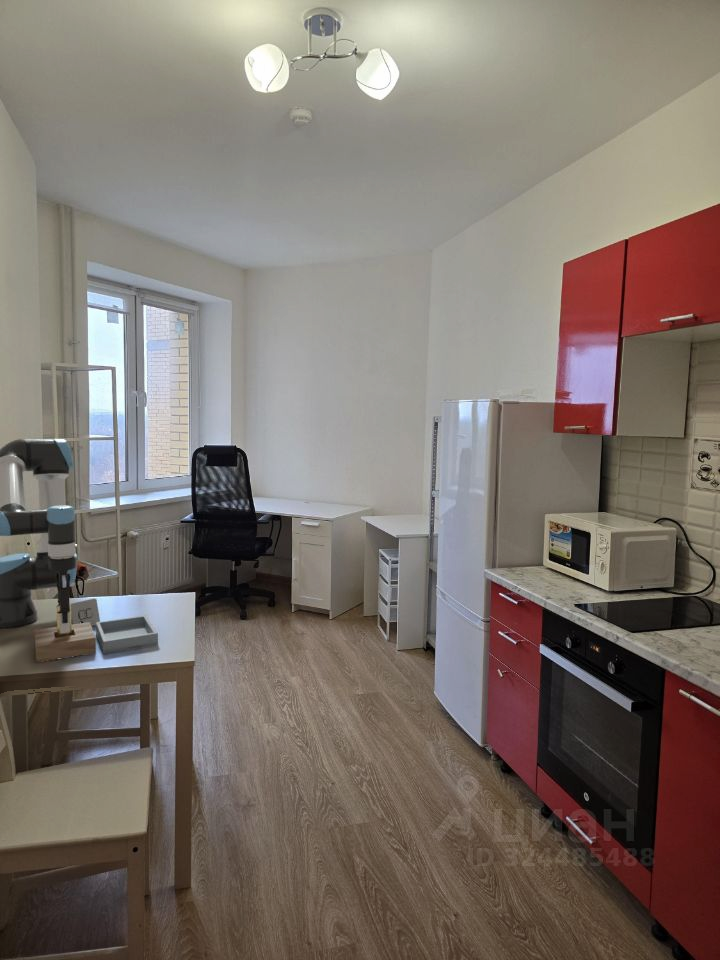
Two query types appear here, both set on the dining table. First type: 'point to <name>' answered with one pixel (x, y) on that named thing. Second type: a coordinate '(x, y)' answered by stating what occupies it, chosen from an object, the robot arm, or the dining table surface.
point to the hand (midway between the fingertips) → (64, 629)
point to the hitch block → (64, 642)
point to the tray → (126, 634)
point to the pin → (59, 624)
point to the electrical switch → (85, 612)
